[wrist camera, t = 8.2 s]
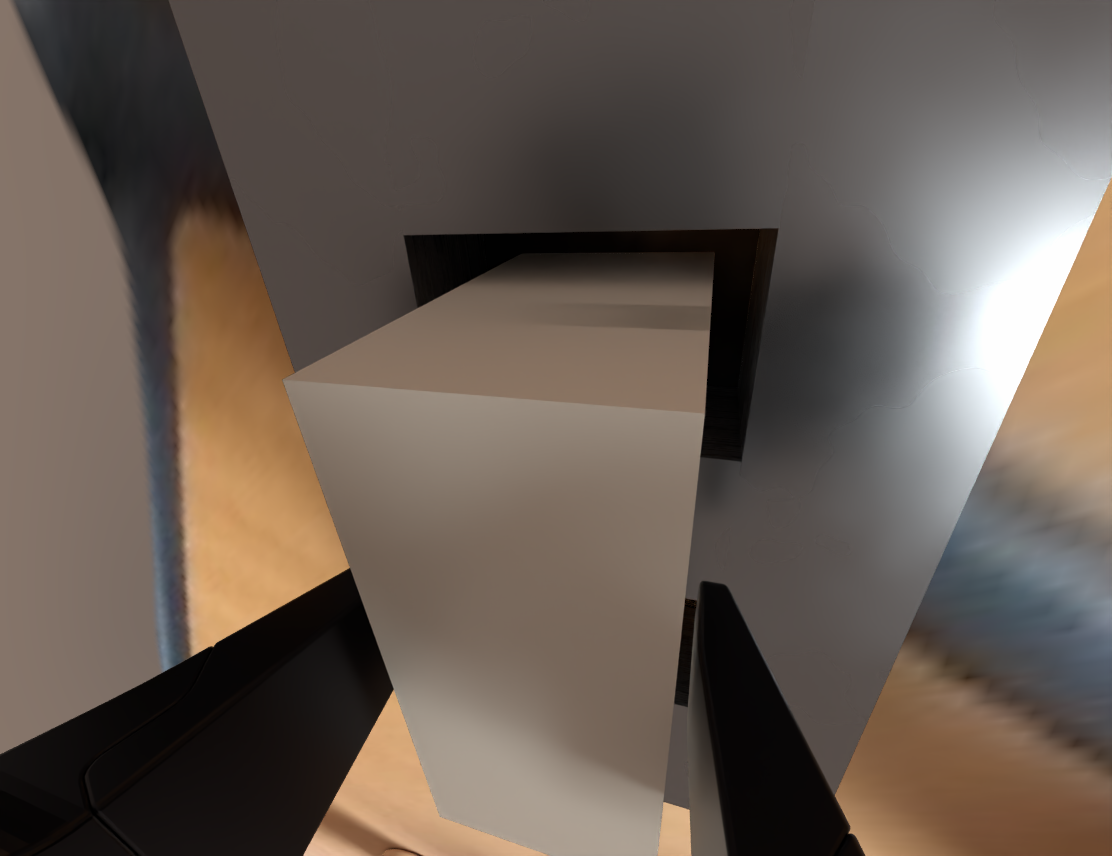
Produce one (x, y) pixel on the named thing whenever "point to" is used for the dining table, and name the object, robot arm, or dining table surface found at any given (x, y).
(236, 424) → the dining table surface
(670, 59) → the slotted plate
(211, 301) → the dining table surface
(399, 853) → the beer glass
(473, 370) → the block
